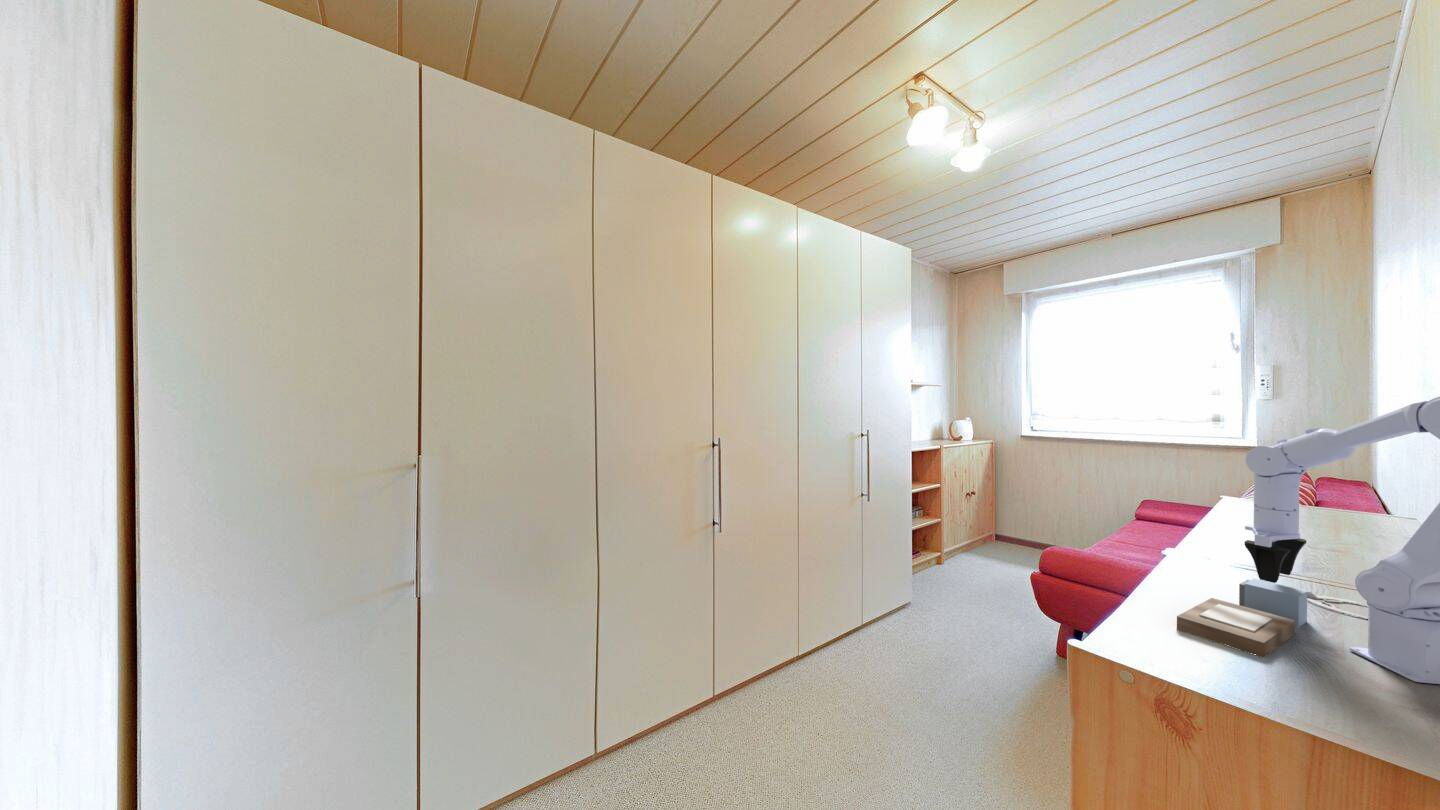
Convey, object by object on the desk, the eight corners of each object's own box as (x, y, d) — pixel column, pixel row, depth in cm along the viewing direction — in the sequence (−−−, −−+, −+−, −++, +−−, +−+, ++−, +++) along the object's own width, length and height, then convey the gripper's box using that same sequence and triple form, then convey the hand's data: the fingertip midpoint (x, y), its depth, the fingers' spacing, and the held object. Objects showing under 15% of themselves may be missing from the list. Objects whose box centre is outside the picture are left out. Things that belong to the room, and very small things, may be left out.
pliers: (1373, 615, 91) (1257, 587, 104) (1372, 623, 91) (1257, 594, 104) (1385, 603, 95) (1272, 578, 108) (1384, 611, 95) (1272, 585, 108)
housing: (1306, 622, 91) (1307, 591, 91) (1298, 628, 89) (1298, 596, 88) (1247, 606, 98) (1248, 577, 98) (1238, 611, 96) (1238, 582, 95)
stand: (1211, 610, 96) (1211, 596, 96) (1295, 633, 86) (1295, 618, 86) (1176, 629, 89) (1176, 614, 89) (1263, 657, 79) (1263, 641, 79)
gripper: (1259, 499, 99) (1258, 563, 100) (1232, 508, 93) (1231, 577, 93) (1312, 506, 93) (1311, 575, 93) (1287, 516, 86) (1286, 590, 87)
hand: (1274, 577), depth 93 cm, fingers open, 7 cm apart
